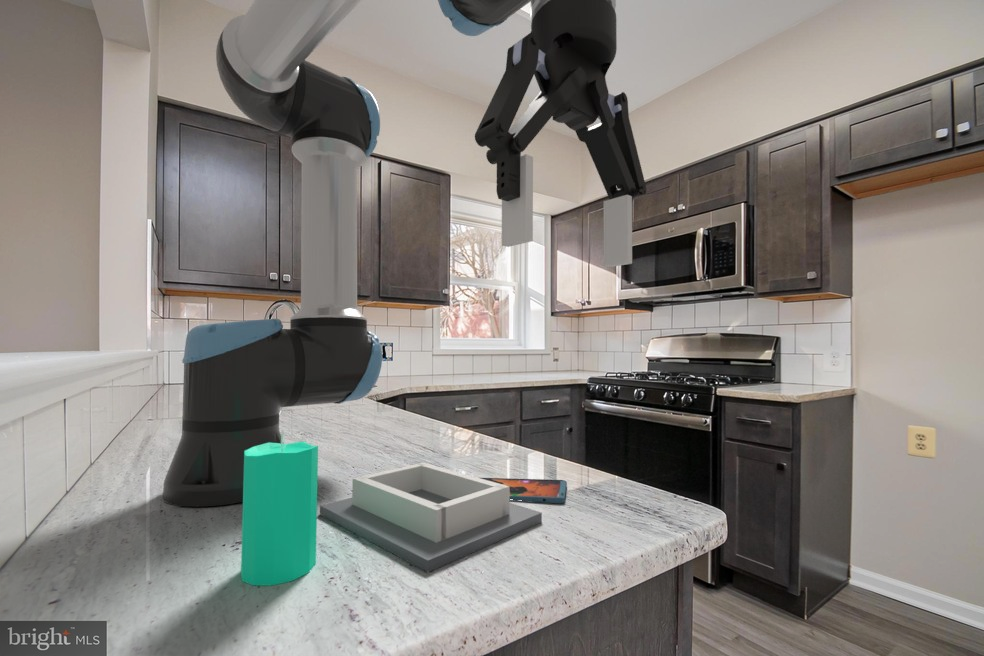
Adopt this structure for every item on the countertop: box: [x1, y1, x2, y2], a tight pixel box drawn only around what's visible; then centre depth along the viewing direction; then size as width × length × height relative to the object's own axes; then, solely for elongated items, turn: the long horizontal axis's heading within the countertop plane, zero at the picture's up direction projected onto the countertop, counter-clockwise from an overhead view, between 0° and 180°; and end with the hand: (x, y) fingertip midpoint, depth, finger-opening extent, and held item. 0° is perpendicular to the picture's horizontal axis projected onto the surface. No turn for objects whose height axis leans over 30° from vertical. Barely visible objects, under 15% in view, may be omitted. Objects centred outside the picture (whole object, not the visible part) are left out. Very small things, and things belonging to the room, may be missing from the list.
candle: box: [240, 429, 319, 586], centre depth 40 cm, size 6×6×12 cm
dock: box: [319, 462, 543, 573], centre depth 52 cm, size 20×16×4 cm
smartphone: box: [480, 477, 568, 504], centre depth 62 cm, size 8×1×15 cm
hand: (572, 256), depth 40 cm, fingers open, 13 cm apart
